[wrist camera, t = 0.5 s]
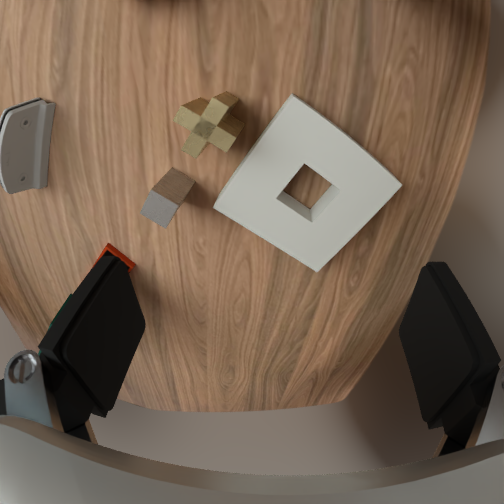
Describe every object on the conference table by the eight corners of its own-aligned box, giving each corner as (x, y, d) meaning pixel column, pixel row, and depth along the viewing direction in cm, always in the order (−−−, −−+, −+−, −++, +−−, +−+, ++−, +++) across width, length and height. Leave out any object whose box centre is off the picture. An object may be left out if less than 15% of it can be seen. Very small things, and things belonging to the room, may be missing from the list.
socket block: (292, 93, 34) (293, 95, 30) (393, 174, 38) (402, 185, 35) (218, 195, 43) (212, 207, 40) (315, 256, 48) (317, 272, 44)
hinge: (47, 187, 44) (3, 206, 36) (36, 177, 45) (-6, 194, 37) (56, 101, 35) (3, 112, 27) (44, 95, 36) (-5, 104, 28)
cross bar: (210, 81, 34) (192, 86, 27) (255, 109, 35) (249, 119, 29) (184, 124, 37) (162, 139, 31) (227, 150, 39) (214, 170, 33)
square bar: (172, 167, 41) (151, 189, 35) (195, 181, 42) (178, 205, 36) (161, 188, 43) (139, 213, 37) (183, 201, 44) (165, 228, 38)
